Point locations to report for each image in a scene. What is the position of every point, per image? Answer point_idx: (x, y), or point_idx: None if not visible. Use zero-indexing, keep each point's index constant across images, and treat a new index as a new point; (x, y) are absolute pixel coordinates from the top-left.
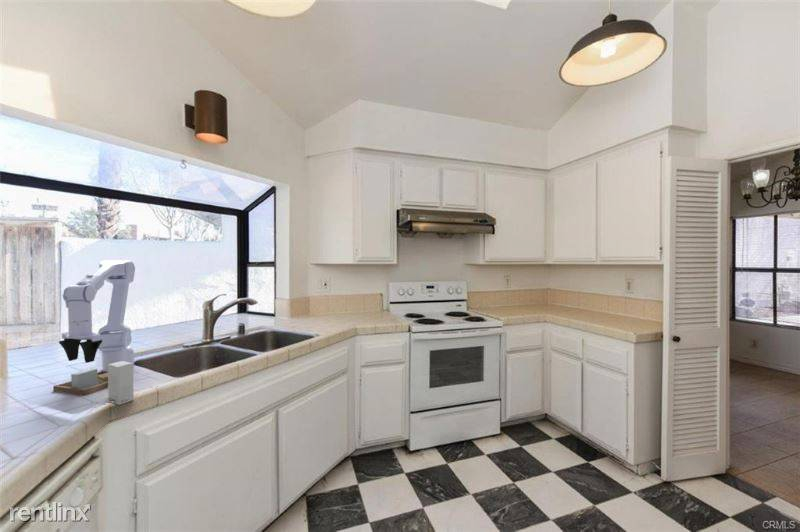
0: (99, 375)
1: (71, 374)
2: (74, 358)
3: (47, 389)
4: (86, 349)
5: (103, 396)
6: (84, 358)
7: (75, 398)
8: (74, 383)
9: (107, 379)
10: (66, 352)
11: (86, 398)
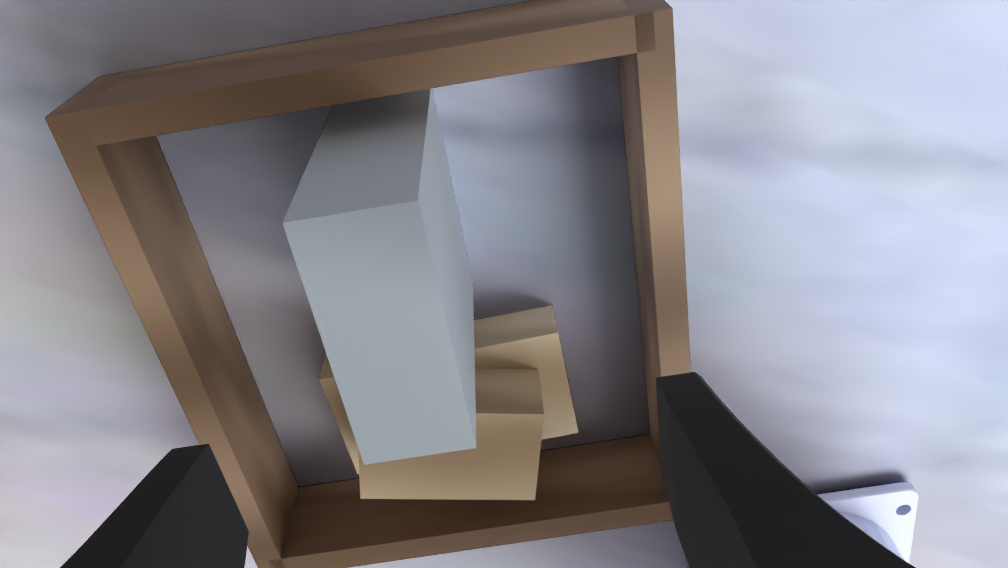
0: (505, 429)
1: (415, 199)
2: (668, 457)
3: (957, 46)
4: None
5: (39, 216)
6: (171, 499)
7: (250, 47)
8: (365, 151)
9: None
10: (763, 485)
11: None
